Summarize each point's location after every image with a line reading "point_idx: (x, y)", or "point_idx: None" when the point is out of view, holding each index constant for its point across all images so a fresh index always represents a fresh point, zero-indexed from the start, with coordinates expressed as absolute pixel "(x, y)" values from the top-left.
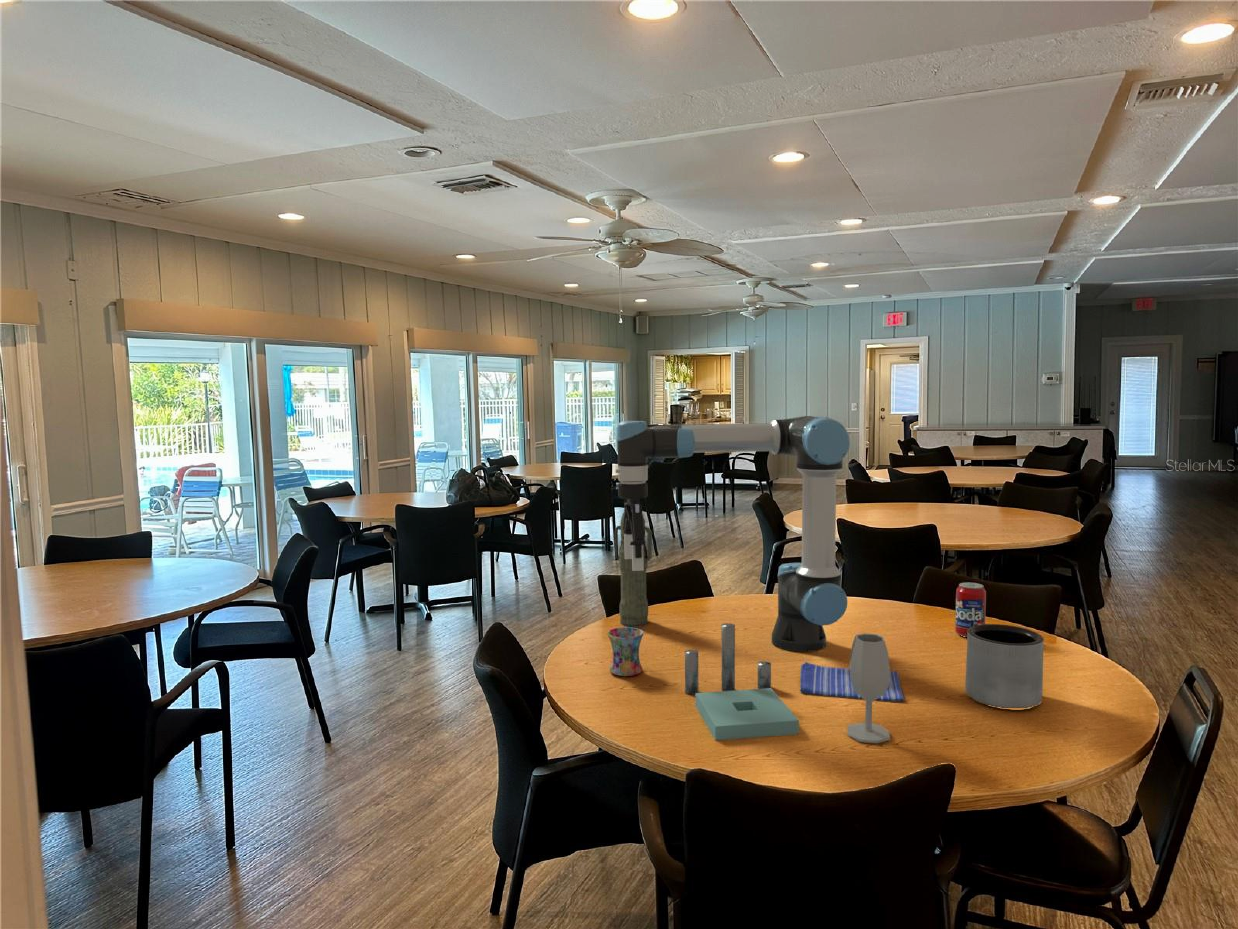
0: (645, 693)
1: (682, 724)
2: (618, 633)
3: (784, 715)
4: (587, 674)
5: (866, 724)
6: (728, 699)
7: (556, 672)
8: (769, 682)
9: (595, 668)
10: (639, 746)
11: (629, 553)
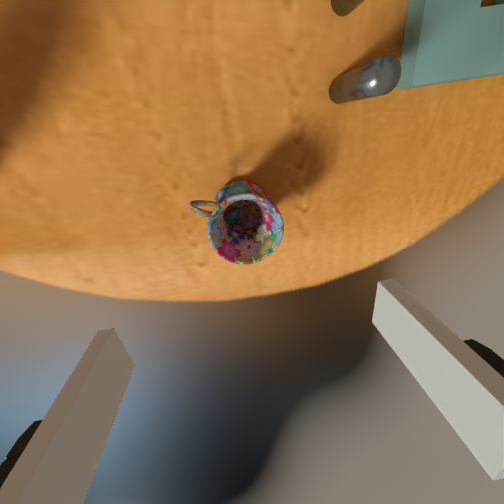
0: (329, 175)
1: (450, 121)
2: (220, 242)
3: None
4: None
5: None
6: (463, 12)
7: (238, 295)
8: None
9: None
10: (482, 185)
11: (114, 377)
